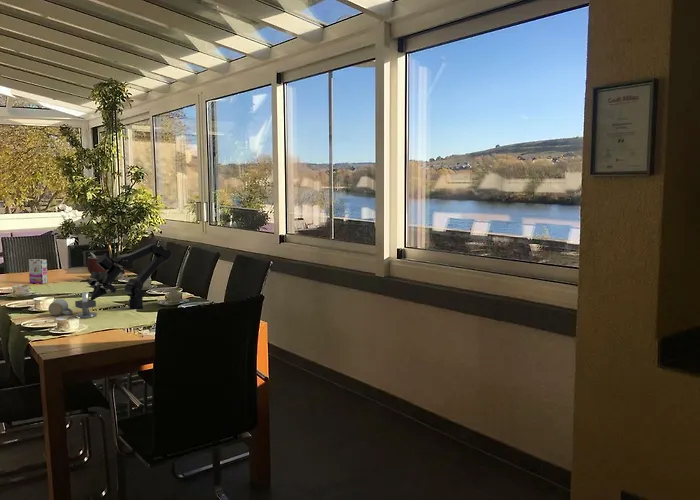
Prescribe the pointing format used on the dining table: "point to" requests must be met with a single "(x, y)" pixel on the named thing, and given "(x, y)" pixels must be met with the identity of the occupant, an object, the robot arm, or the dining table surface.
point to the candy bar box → (38, 271)
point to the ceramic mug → (59, 307)
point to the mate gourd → (94, 264)
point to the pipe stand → (86, 310)
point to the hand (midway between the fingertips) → (91, 299)
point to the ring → (85, 304)
